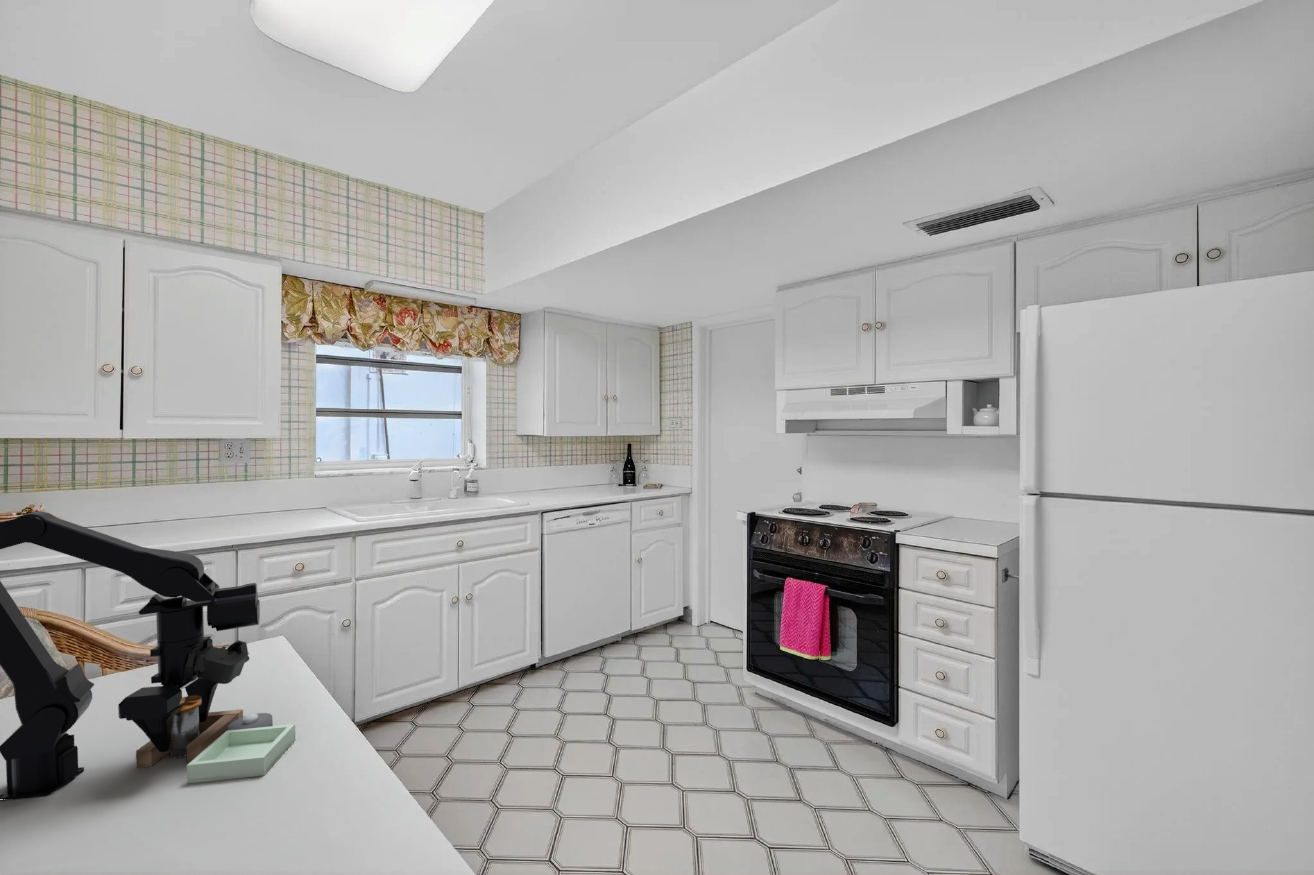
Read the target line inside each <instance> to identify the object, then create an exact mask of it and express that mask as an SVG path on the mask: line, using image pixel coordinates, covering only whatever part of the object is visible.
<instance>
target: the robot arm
mask: <svg viewBox="0 0 1314 875" xmlns="http://www.w3.org/2000/svg"><path fill="white" fill-rule="evenodd" d="M25 543H26V544H27V543H28V544H33V545H36V546H40V547H41V548H42V547H43V548H45V549H49V550H52V551H55V552H58V553H61V554H64V555H67V556H70V557H73V558H76V559H79V560H82V561H86V562H89V563H92V564H95V565H98V566H101V567H103V568H108V569H110V570H114V571H117V572H120V573H121V574H123V575H126V576H128V577H129V578H130V579H132V580H134V581H135V582H137V583H138V584H139V585H141V586H142V587H144V588H147V589H148V590H149V591H152V592H154V593H155V594H154V595H153V596H151V597H150V600H149V601H148V602H147V603H146V604H144V605H143V606H142V607H141V608H140V610H138V615H150V614H156V615H155V616H156V617H155V618H156V641H157V644H156V645H157V646H155V647H153V648H152V649H150V650H149V653H150V654H149V655H150V657H157V673H156V674H154V675H152V676H151V677H150V683H151V684H160V685H159V686H157V685H156V686H146V687H145V686H144V687H141V688H139V689H138V690H136V691H134V692H132V693H130V694H129V695H127V696H125V697H124V698H123V699H122V700H121V701H119V703H118V704H117V706H118V710H117V711H118V718H119V720H125V719H126V721H127V722H128V721H132V722H133V723H134V724H136V726H137V727H139V729H140V730H141V732H143V733H144V734H145V736H146V737H147V738H148V739H149V741H150V740H151V742H152V743H153V744H154V745H155V747H156V748H157V749H158V750H159V752H167V751H168V750H169V748H170V742H171V733H172V722H173V716H174V714H175V713H176V712H177V711H178V710H179V709H180V708H181V707H182V706H183V705H179V704H180V701H181V699H182V697H183V689H185V692H186V694H187V696H201V700H202V703H201V705H199V723H201V722H205V721H206V719H207V716H208V713H209V712H210V709H211V706H212V702H213V700H214V697H215V693H216V689H217V687H218V685H219V684H221V685H227V684H229V683H231V682H233V680H234V679H236V678H237V677H240V676H241V674H242V671H243V668H244V666H245V664H246V663H247V662H249V661H250V656H249V655H250V652H249V650H248V644H247V642H246V641H243V640H236V641H235V642H233V643H231V644H230V645H229V646H228V647H227V648H226V646H221V647H215V646H214V644H213V642H214V641H213V639H212V638H211V636H205V628H204V625H205V622H204V607H206V622H207V623H206V624H207V626H208V627H211V629H215V630H216V631H215V632H221V631H227V630H234V629H241V628H247V627H252V626H253V627H254V626H258V625H260V615H261V614H260V613H261V612H260V611H261V605H260V599H259V595H258V594H259V593H258V589H257V588H258V586H257V583H256V582H253V583H251V582H250V583H246V584H242V585H238V586H237V585H236V586H230V587H229V586H228V587H221V588H220V585H219V584H218V583H217V582H215V580H213V579H212V578H211V577H210V576H209V575H208V574H207V573H205V567H204V564H203V561H202V560H201V559H200V558H199V557H197V556H196V555H194V554H190V553H184V552H180V551H175V550H168V549H161V548H159V549H158V548H152V547H151V548H150V547H144V546H140V545H138V544H134V543H131V542H129V541H125V540H122V539H119V538H117V537H114V536H111V535H108V534H105V533H103V532H100V531H97V530H94V529H91V528H87V527H85V526H83V525H80V524H77V523H73V522H71V521H67V520H64V519H62V518H59V517H57V516H54V515H53V514H52V513H50V512H47V511H34V512H30V513H26V514H22V515H19V516H18V517H16V518H13V519H10V520H5V521H1V522H0V550H3V549H7V548H11V547H14V546H17V545H21V544H25ZM161 596H162V597H161ZM163 597H164V598H163ZM0 667H1V669H2V670H3V672H4V673H5V674H6V676H7V677H8V679H9V680H10V682H11V683H12V684H11V685H12V686H13V692H14V704H15V711H16V713H17V715H18V720H19V721H20V726H18V728H17V729H16V730H15V731H13V733H12V734H11V735H10V736H9V737H8V738H7V739H6V740H5V741H4V742H3V743H1V744H0V754H1V757H2V758H3V759H4V761H5V768H6V769H5V770H6V775H5V776H6V790H5V791H3V792H2V793H0V799H3V800H2V801H5V800H4V799H12V800H20V799H21V800H22V799H28V798H29V799H30V798H39V797H47V796H50V795H51V794H54V792H56V791H57V790H58V789H60V788H62V787H64V785H66V784H68V783H69V782H71V781H72V780H73V779H75V778H76V777H78V776H79V775H81V774H82V773H84V772H85V767H84V766H81V767H79V751H78V750H79V749H78V746H77V745H75V734H69V733H67V732H68V731H69V730H70V729H71V728H72V727H73V726H74V725H75V724H76V722H77V721H78V720H79V719H80V718H81V717H82V715H83V714H85V712H86V710H87V709H89V707H90V704H91V703H92V700H93V691H92V690H91V689H92V688H93V687H94V686H95V683H93V682H92V681H90V680H89V679H88V678H87V677H86V675H85V672H84V669H83V667H82V665H81V664H79V663H78V664H75V665H73V666H72V667H71V668H65V667H64V666H62V665H60V664H58V663H57V662H56V661H55V660H54V659H53V657H52V656H51V655H50V653H49V652H48V650H47V648H46V647H45V645H44V644H43V642H42V641H41V639H40V638H39V637H38V635H37V634H36V631H34V629H33V628H32V626H31V625H30V623H29V622H28V620H27V618H26V617H25V616H24V614H23V612H22V611H21V609H20V608H19V607H18V605H17V603H16V602H15V600H14V599H13V598H12V596H11V594H10V593H9V591H8V590H7V589H6V587H5V586H4V584H3V583H2V582H1V580H0Z"/></svg>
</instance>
